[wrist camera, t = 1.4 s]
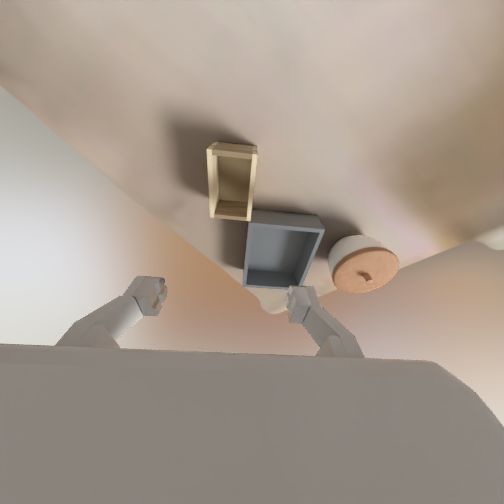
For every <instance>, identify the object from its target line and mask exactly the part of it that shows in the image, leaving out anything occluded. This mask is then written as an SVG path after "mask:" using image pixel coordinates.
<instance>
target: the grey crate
mask: <svg viewBox="0 0 504 504" xmlns="http://www.w3.org/2000/svg"><path fill="white" fill-rule="evenodd" d="M324 232H325V228H324V226H323V224H322V223H321V221H320V219H319V218H318V216H317V215H312V214H301V213H291V212H280V211H269V210H259V209H252V212H251V221H248V228H247V238H246V249H245V259H244V270H243V287H256V288H270V289H284V290H289V286H290V285H295V286H302V285H303V282H304V280H305V277H306V275H307V273H308V270H309V268H310V265H311V263H312V261H313V258H314V256H315V253H316V251H317V249H318V246H319V244H320V241H321V239H322V237H323V234H324Z"/></svg>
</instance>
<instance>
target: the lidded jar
mask: <svg viewBox="0 0 504 504" xmlns="http://www.w3.org/2000/svg"><path fill="white" fill-rule="evenodd" d="M328 267H329V271H330V274H331V276H332V279H333V282H334V284H335V286H336V287H337V288H338V289H340V290H341V291H344V292H347V293H363V292H368V291H371V290H374V289H377V288H379V287H381V286H382V285H384V284H386V283H387V282H388V281H390V280H391V279H392V278H393V277H394V275H395V274H396V273H397V271H398V268H399V260H398V258H397V256H396V255H395V254H394V253H393V252H391V251H390V250H389V249H388V248H387V247H386V246H384V245H383V244H382V243H381V242H379V241H377V240H376V239H374V238H371V237H368V236H364V235H353V236H346V237H344V238H342V239H340V240H339V241H337V242H336V243H335V245H334V246H333V248H332V249H331V251H330V253H329V256H328Z"/></svg>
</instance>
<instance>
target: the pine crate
mask: <svg viewBox="0 0 504 504" xmlns="http://www.w3.org/2000/svg"><path fill="white" fill-rule="evenodd" d="M257 155H258V154H257V146H252V145H243V144H234V143H225V142H217V141H215V142H214V143H213V144H211V145H210V146H209V147H208V148H207V167H208V186H209V205H210V218H219V219H230V220H241V221H251V212H252V202H253V193H254V183H255V174H256V164H257Z"/></svg>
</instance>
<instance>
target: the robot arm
mask: <svg viewBox="0 0 504 504" xmlns="http://www.w3.org/2000/svg"><path fill="white" fill-rule="evenodd" d="M164 283H165V280H164V278H161V277H149V276H137V277H136V278H135V279H134V280H133V282H132V283H131V285H130V286H129V287H128V289H127V290H126V292H125V293H124V295H123V296H119V297H118V298H116V299H114V300H112V301H111V302H109V303H107V304H106V305H104V306H102V307H100V308H99V309H97V310H95V311H93V312H92V313H90V314H88V315H87V316H85V317H83V318H82V319H80V320H78V321H76V322H75V323H74V324H73V325H72V326H71V327H70V328H69V330H68V331H67V332H66V333H65V334H64V335H63V337H62V338H61V339H60V340H59V341H58V342H57V344H56V345H55V346H45V345H19V344H0V504H504V427H503V425H502V424H501V423H500V421H499V420H498V419H497V418H496V416H495V415H494V414H493V412H492V411H491V410H490V408H489V407H488V406H487V405H486V403H485V402H484V401H483V400H482V399H481V398H480V397H479V396H478V394H477V393H476V392H474V391H473V390H472V389H471V388H470V387H468V386H467V385H466V384H465V383H463V382H462V381H461V380H459V379H458V378H457V377H455V376H454V375H452V374H451V373H450V372H448V371H447V370H446V369H444V368H443V367H441V366H440V365H438V364H437V363H434V362H432V361H425V360H400V359H375V358H364V355H363V353H362V351H361V349H360V347H359V345H358V342H357V340H356V338H355V336H354V335H353V334H352V333H351V332H350V331H349V330H348V329H346V328H345V327H344V326H343V325H342V324H341V323H340V322H339V321H338V320H337V319H336V318H334V317H333V316H332V315H331V314H330V313H329V312H328V311H327V310H326V309H325V308H324V307H321V306H320V303H319V300H318V297H317V294H316V292H315V289H314V287H313V286H295V285H290V286H289V293H287V296H286V307H287V308H288V309H289V311H288V318H289V322H290V323H301V324H302V325H303V326H304V327H305V329H306V330H307V331H308V333H309V334H310V335H311V336H312V338H313V339H314V340H315V342H316V343H317V344H318V346H319V347H320V350H319V351H318V353H317V354H316V356H298V355H273V354H247V353H223V352H197V351H170V350H146V349H144V350H143V349H121V348H120V346H119V345H118V344H117V343H116V340H117V339H118V338H119V337H120V336H121V335H123V334H124V333H125V332H126V331H127V330H128V329H129V328H131V326H133V325H134V324H135V323H136V322H138V321H139V320H140V319H141V318H142V317H143V316H158V314H159V312H160V310H161V308H162V306H161V303H162V302H164V301H165V299H166V296H167V287H166V286H165V285H164Z"/></svg>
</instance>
